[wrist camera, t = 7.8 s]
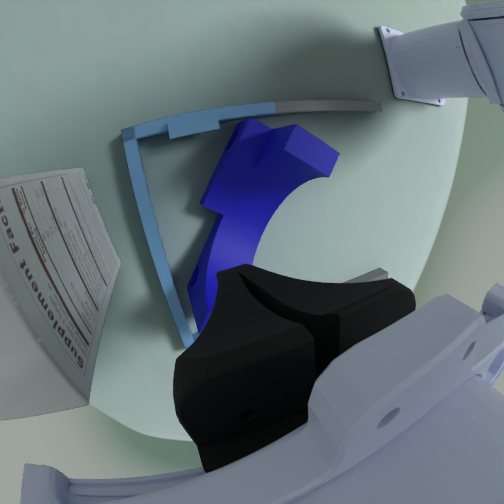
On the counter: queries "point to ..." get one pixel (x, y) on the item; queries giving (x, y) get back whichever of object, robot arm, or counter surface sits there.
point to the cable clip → (251, 198)
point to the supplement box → (51, 291)
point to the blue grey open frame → (199, 124)
